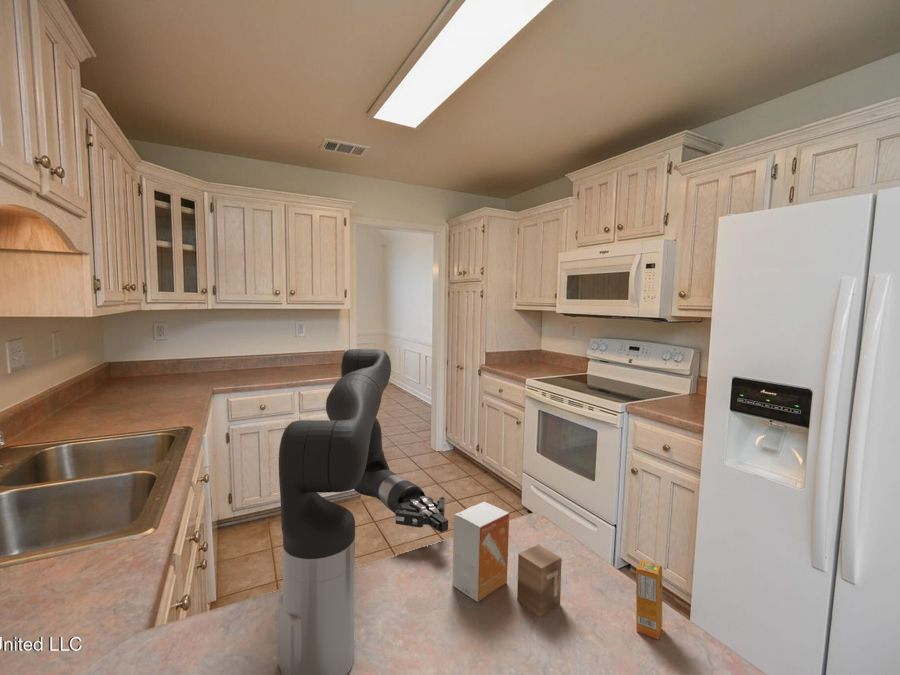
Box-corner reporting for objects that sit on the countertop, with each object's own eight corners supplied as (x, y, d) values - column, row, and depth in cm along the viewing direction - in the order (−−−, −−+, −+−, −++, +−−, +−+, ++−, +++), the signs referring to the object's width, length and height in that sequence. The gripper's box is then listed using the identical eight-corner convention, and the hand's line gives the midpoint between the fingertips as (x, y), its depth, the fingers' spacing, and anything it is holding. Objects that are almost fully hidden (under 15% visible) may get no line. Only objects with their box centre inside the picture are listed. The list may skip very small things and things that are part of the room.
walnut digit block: (541, 618, 66) (542, 569, 65) (517, 599, 70) (518, 553, 69) (561, 605, 69) (562, 558, 68) (537, 588, 73) (538, 544, 72)
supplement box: (638, 618, 66) (640, 557, 65) (662, 628, 64) (664, 565, 63) (633, 631, 63) (636, 567, 63) (658, 641, 61) (661, 576, 61)
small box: (478, 604, 69) (479, 527, 68) (451, 585, 73) (452, 513, 73) (508, 583, 74) (510, 512, 74) (481, 567, 79) (483, 500, 78)
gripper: (375, 486, 92) (417, 517, 78) (425, 474, 100) (471, 500, 86) (374, 519, 92) (416, 556, 78) (424, 504, 100) (470, 535, 86)
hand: (445, 526), depth 82 cm, fingers closed
